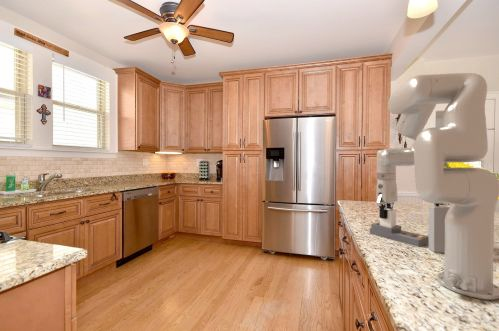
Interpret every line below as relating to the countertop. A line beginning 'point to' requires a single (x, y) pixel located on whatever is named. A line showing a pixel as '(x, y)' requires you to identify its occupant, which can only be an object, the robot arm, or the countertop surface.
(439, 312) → the countertop surface
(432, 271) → the countertop surface
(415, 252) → the countertop surface
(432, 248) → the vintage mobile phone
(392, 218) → the charger
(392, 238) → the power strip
